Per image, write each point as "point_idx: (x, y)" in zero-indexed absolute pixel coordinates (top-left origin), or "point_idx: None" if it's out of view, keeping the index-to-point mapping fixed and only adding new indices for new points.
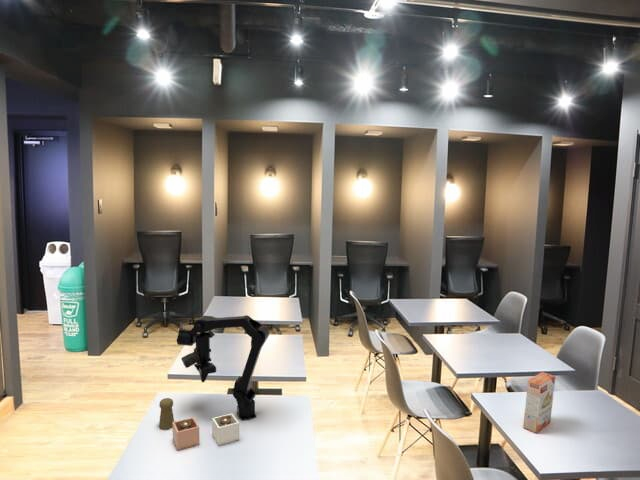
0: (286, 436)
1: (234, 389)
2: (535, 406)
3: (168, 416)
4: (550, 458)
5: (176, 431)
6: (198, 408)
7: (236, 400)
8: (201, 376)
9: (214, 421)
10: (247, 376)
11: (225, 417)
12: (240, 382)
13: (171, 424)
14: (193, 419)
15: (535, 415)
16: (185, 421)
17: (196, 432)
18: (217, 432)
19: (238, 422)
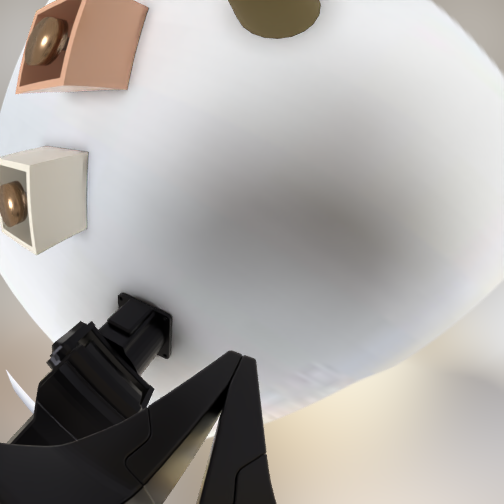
0: (41, 303)
1: (58, 369)
2: None
3: None
4: (17, 386)
5: (44, 7)
6: (341, 226)
7: (79, 331)
8: (153, 406)
9: (15, 163)
10: (20, 428)
11: (7, 209)
12: (35, 403)
13: (232, 8)
14: (51, 80)
15: None
16: (41, 39)
17: (33, 81)
18: (18, 153)
19: (2, 231)
